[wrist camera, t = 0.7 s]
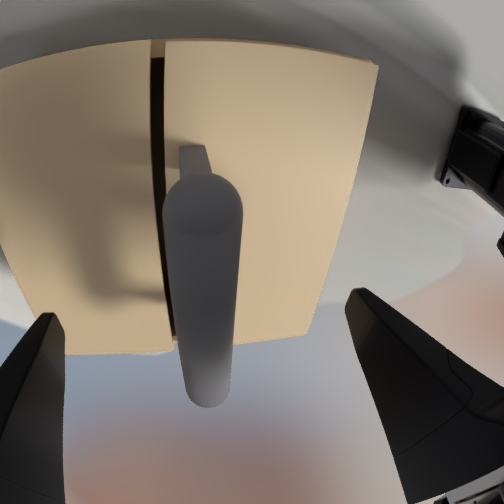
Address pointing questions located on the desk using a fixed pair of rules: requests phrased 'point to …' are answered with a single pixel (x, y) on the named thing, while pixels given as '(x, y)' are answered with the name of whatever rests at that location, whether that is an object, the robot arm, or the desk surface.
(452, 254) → the desk surface
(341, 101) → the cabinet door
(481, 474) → the robot arm
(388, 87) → the desk surface
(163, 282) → the kraft carton
